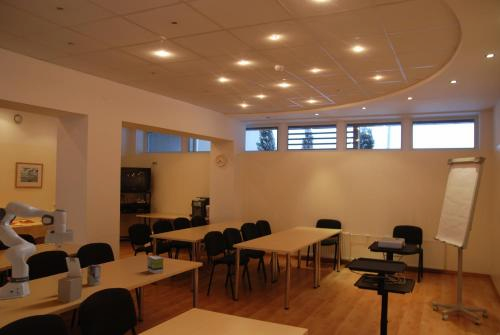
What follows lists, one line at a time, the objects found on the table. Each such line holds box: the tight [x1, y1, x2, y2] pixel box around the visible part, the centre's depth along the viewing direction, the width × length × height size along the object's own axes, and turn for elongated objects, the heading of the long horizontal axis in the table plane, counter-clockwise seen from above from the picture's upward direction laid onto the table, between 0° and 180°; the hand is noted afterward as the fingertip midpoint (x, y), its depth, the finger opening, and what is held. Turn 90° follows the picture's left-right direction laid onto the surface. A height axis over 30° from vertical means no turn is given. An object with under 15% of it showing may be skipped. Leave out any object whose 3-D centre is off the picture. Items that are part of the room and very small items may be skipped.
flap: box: [65, 256, 83, 278], centre depth 296 cm, size 16×11×1 cm
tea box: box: [146, 255, 164, 275], centre depth 382 cm, size 15×10×15 cm
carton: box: [57, 276, 83, 304], centre depth 292 cm, size 12×11×16 cm
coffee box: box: [86, 264, 101, 287], centre depth 334 cm, size 9×6×16 cm
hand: (59, 248), depth 300 cm, fingers closed
